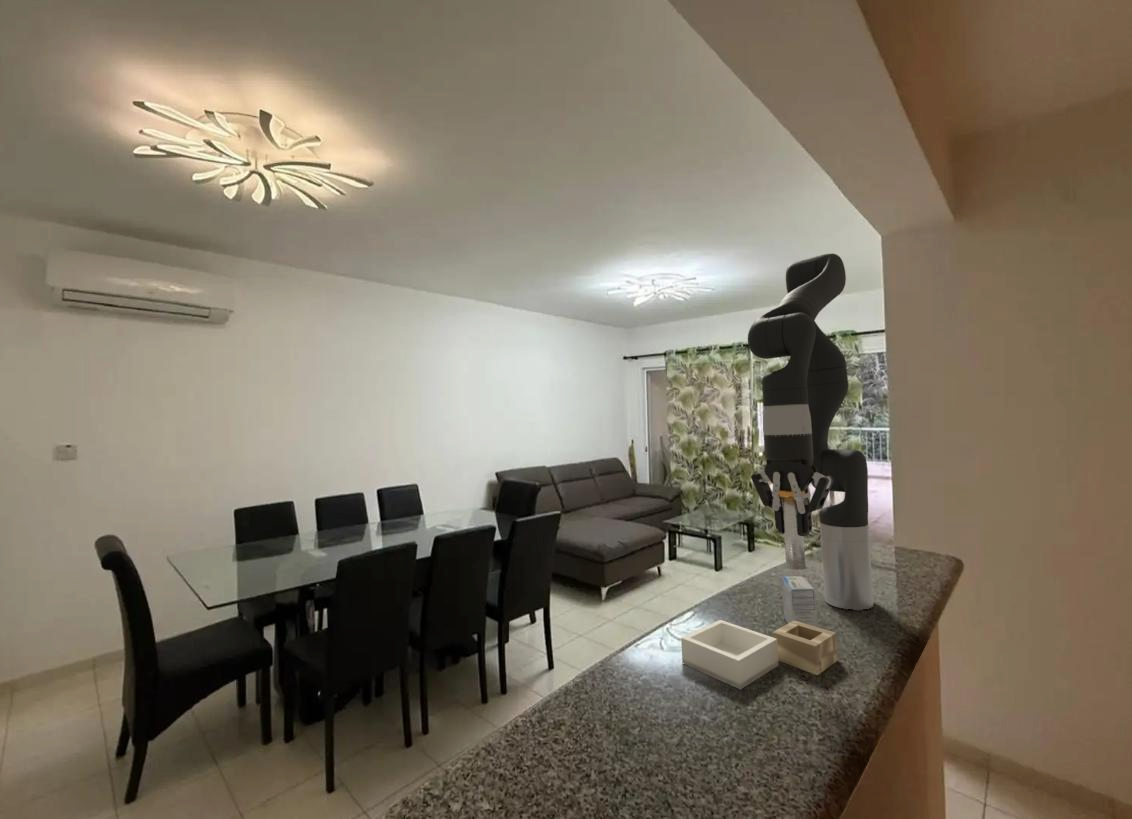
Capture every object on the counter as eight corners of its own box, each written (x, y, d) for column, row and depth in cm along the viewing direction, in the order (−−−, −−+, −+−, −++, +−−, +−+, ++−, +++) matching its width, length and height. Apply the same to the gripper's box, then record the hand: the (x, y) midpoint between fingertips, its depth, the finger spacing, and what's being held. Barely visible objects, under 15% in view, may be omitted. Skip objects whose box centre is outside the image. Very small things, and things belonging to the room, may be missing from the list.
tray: (721, 643, 89) (720, 619, 89) (778, 665, 80) (777, 638, 80) (682, 663, 82) (681, 637, 82) (740, 689, 73) (738, 660, 73)
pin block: (795, 646, 86) (794, 620, 86) (838, 660, 81) (836, 632, 81) (774, 659, 82) (772, 632, 82) (817, 675, 76) (815, 646, 76)
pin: (789, 562, 85) (785, 487, 85) (815, 567, 81) (810, 489, 82) (776, 567, 82) (771, 490, 83) (802, 572, 79) (797, 492, 79)
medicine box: (819, 636, 90) (816, 589, 90) (793, 635, 91) (790, 588, 91) (806, 619, 97) (804, 576, 98) (783, 618, 98) (780, 575, 99)
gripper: (840, 430, 79) (847, 536, 79) (761, 432, 90) (766, 525, 90) (818, 432, 75) (826, 544, 74) (737, 433, 86) (743, 531, 85)
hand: (793, 533), depth 82 cm, fingers closed on pin, 3 cm apart
